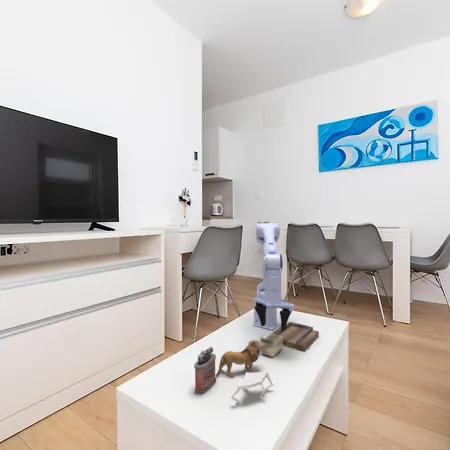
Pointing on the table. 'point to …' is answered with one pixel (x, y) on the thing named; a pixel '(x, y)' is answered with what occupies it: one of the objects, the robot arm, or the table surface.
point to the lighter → (205, 371)
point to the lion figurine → (241, 358)
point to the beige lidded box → (271, 344)
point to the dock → (297, 336)
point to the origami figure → (253, 382)
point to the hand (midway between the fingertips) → (273, 327)
